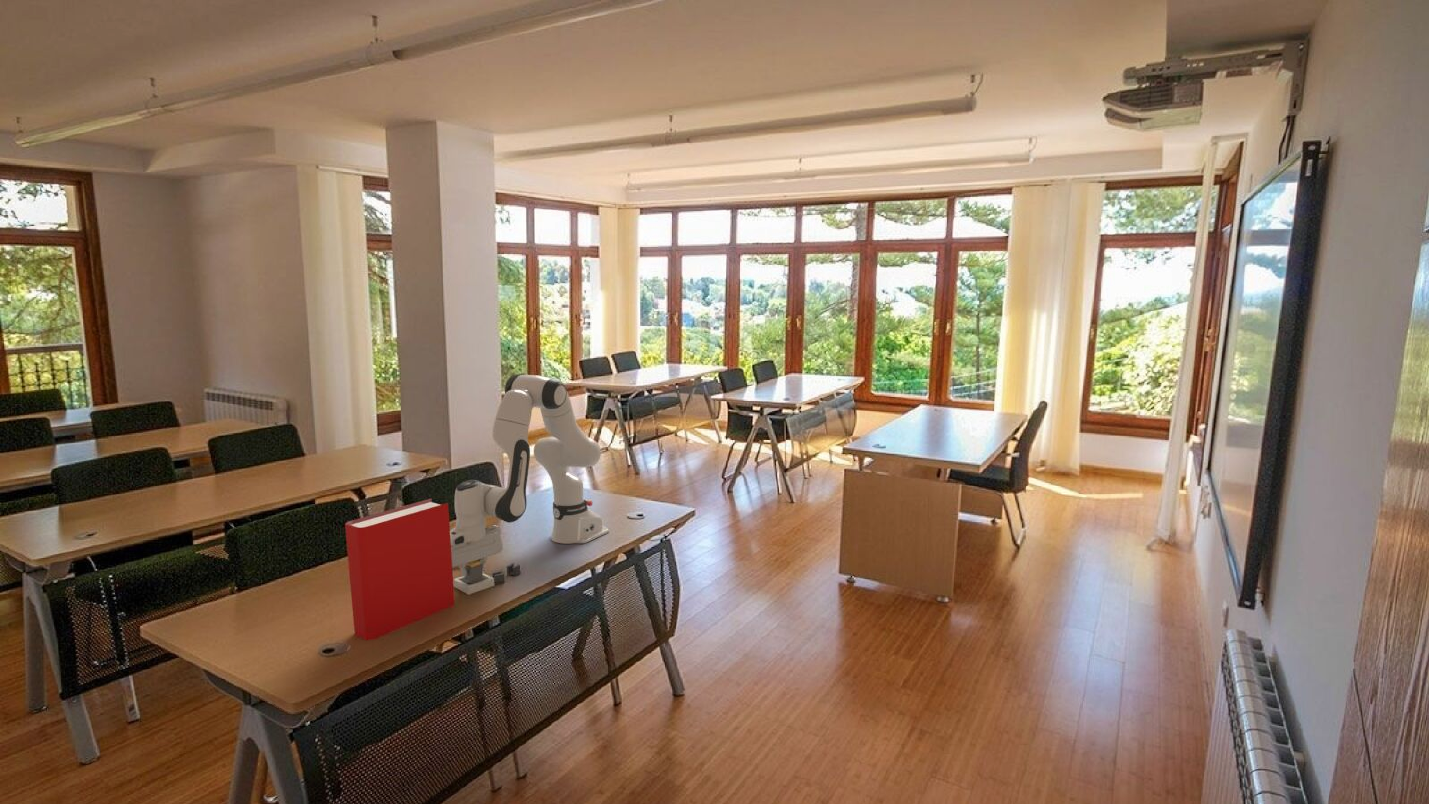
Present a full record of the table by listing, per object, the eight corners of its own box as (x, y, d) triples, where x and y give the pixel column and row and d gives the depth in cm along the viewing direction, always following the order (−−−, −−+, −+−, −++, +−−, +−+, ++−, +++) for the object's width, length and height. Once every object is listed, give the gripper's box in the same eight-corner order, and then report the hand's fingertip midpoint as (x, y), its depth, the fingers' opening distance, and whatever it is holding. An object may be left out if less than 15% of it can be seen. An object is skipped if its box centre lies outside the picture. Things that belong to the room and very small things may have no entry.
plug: (476, 576, 232) (475, 558, 231) (482, 579, 230) (481, 561, 229) (464, 579, 229) (463, 561, 228) (471, 583, 227) (470, 565, 226)
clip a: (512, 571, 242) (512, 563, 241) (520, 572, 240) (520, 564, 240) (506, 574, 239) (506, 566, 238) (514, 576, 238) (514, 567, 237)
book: (438, 598, 221) (431, 498, 216) (454, 604, 217) (448, 502, 211) (352, 633, 199) (342, 523, 193) (368, 641, 194) (359, 528, 189)
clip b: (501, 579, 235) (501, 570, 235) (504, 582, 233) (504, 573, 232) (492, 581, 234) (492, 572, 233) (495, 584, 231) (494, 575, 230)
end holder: (479, 578, 236) (478, 570, 236) (494, 585, 230) (493, 578, 230) (453, 586, 229) (453, 579, 229) (468, 594, 224) (468, 587, 223)
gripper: (494, 521, 237) (496, 561, 239) (436, 538, 221) (438, 580, 224) (505, 525, 233) (507, 566, 235) (446, 542, 217) (449, 585, 220)
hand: (473, 573), depth 229 cm, fingers closed on plug, 4 cm apart
